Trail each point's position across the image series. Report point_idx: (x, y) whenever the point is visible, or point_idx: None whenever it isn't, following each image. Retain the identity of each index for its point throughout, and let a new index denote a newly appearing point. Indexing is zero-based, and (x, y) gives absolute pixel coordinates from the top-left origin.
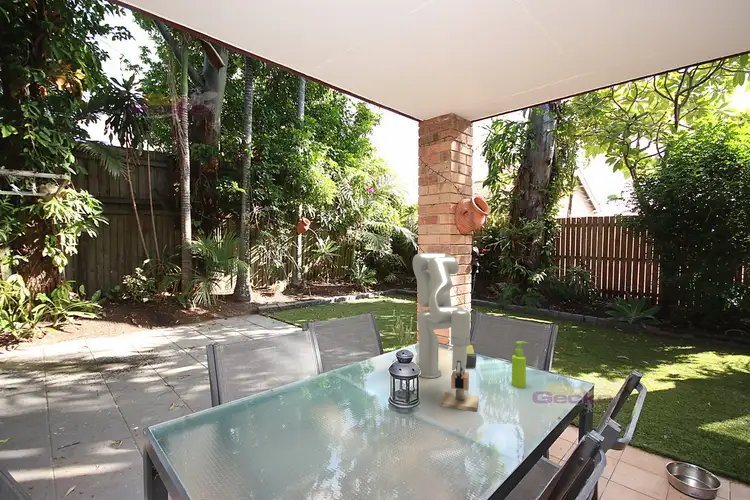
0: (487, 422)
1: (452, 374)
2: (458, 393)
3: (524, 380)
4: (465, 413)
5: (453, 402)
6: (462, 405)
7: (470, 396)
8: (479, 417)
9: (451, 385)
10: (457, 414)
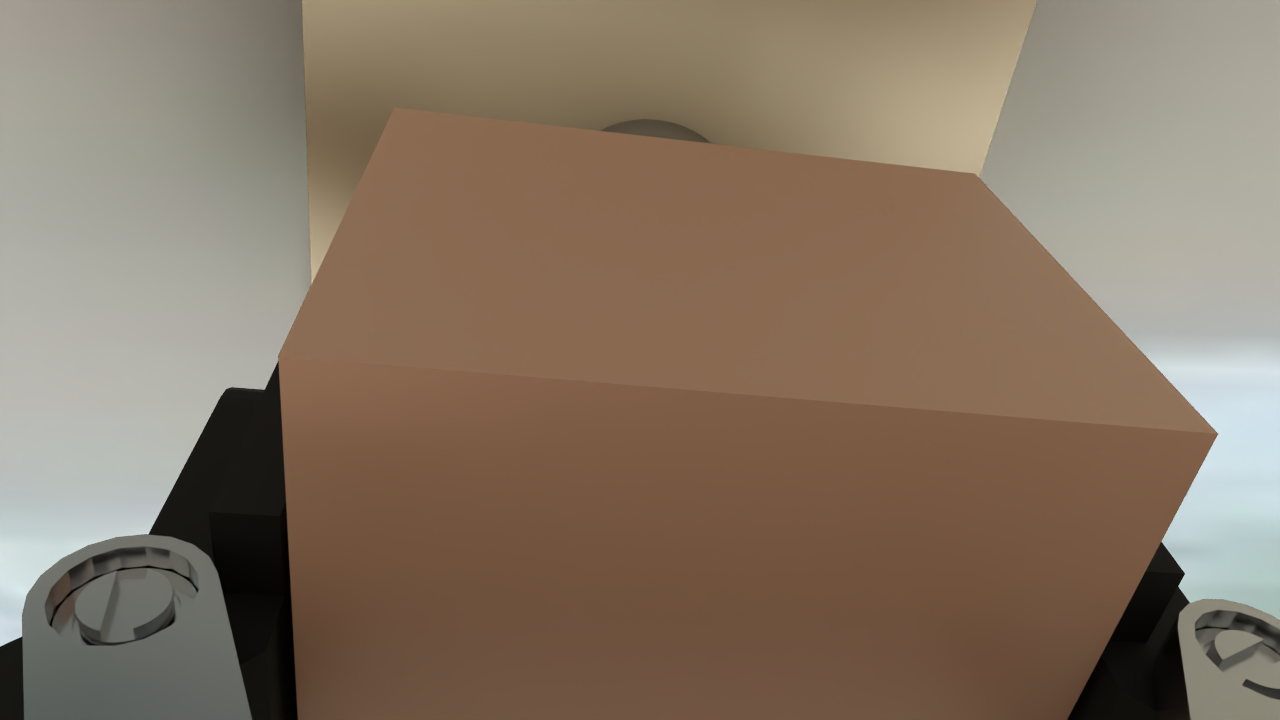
0: (3, 581)
1: (588, 413)
2: None
3: None
4: (172, 276)
5: (412, 60)
6: (318, 262)
7: None
8: (124, 488)
9: (375, 160)
10: (42, 120)
